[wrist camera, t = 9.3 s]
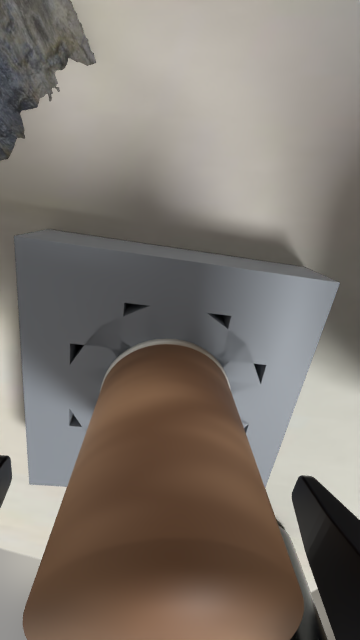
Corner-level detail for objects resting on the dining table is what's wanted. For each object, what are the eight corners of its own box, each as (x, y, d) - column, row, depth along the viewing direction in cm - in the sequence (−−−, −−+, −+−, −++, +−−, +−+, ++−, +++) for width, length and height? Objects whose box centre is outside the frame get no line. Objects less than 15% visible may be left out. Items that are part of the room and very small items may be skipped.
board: (304, 266, 14) (340, 282, 11) (246, 453, 18) (261, 498, 15) (47, 229, 13) (13, 235, 10) (51, 438, 17) (29, 484, 14)
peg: (229, 322, 14) (349, 543, 5) (208, 412, 16) (265, 688, 7) (115, 308, 14) (9, 528, 4) (108, 403, 16) (27, 690, 6)
